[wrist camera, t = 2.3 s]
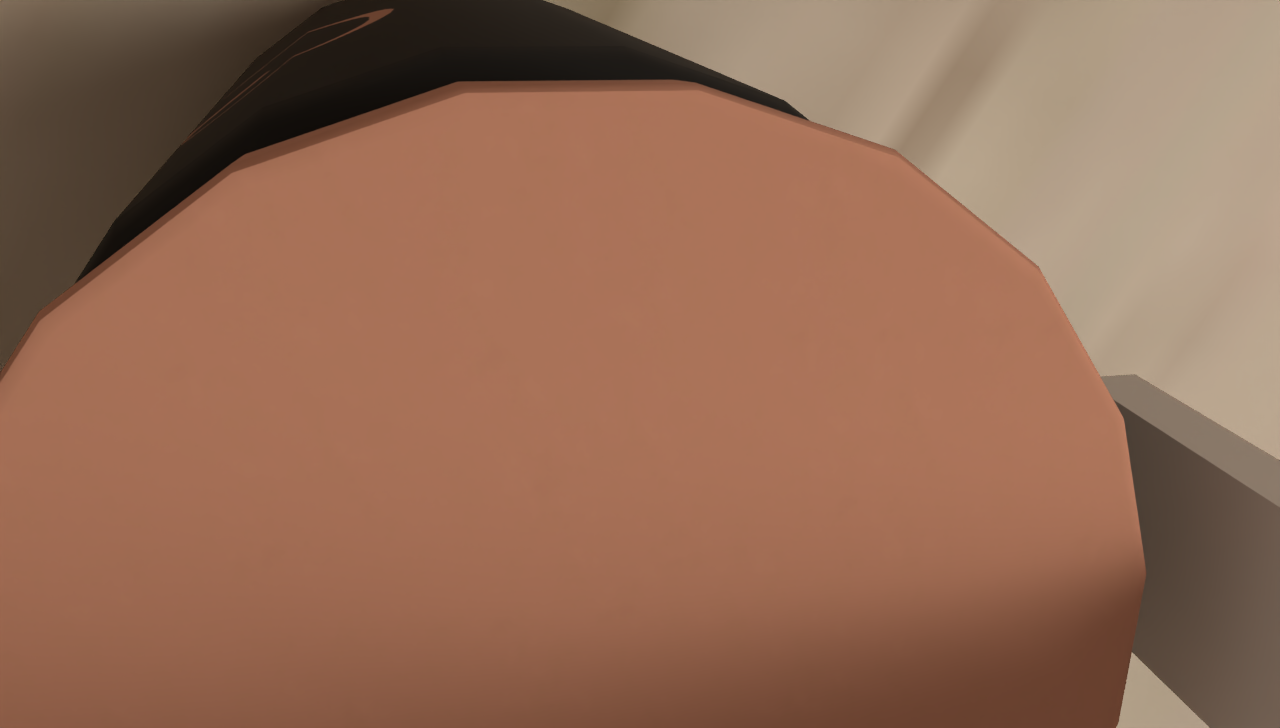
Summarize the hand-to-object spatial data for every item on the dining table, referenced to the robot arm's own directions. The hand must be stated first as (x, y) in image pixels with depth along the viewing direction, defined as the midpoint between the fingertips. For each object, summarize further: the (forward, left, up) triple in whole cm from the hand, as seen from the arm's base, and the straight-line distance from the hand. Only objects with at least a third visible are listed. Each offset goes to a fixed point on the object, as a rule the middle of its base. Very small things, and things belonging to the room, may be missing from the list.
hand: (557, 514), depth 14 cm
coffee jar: (0, 0, -14) cm, 14 cm away
